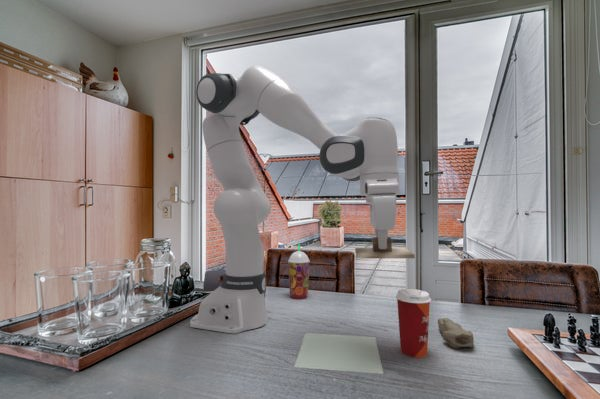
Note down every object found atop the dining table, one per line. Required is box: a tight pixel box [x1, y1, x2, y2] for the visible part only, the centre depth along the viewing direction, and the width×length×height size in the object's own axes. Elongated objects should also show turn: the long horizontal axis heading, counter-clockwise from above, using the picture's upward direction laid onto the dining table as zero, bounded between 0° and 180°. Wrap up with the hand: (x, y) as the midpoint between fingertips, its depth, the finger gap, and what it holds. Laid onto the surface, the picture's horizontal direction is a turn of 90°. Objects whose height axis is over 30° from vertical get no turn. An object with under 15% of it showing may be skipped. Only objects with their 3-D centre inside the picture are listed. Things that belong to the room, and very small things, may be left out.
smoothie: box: [287, 243, 311, 300], centre depth 118 cm, size 8×8×20 cm
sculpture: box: [437, 317, 475, 349], centre depth 80 cm, size 7×5×15 cm
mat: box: [294, 332, 384, 375], centre depth 72 cm, size 18×18×1 cm
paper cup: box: [395, 288, 432, 359], centre depth 72 cm, size 8×8×14 cm
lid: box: [354, 236, 416, 260], centre depth 72 cm, size 12×12×4 cm
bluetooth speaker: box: [202, 269, 267, 294], centre depth 120 cm, size 23×9×10 cm, turn 94°
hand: (381, 247), depth 72 cm, fingers closed on lid, 3 cm apart
